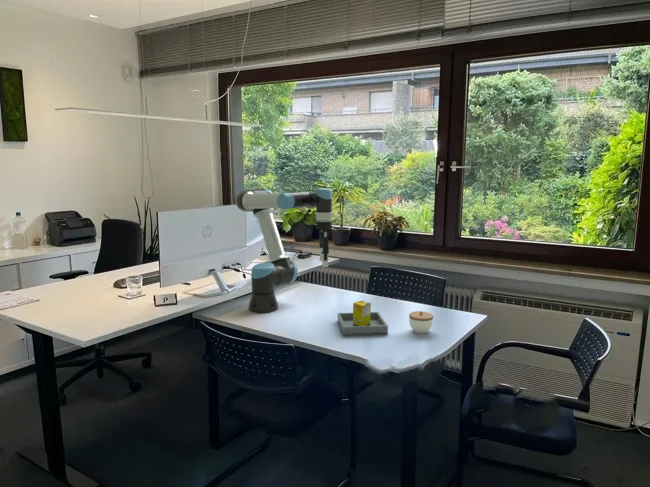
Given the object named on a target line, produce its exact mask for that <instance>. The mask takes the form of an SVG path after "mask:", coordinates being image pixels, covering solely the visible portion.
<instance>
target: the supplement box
mask: <svg viewBox="0 0 650 487" xmlns="http://www.w3.org/2000/svg"><path fill="white" fill-rule="evenodd" d="M371 305H372V304H371V302H368V301H364V300H358V301H355V302H353V303H352V307H353V308H352V313H353V325H354V326H369V325H370V313H371V312H372V311H371V308H372V307H371Z"/></svg>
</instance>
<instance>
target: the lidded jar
mask: <svg viewBox="0 0 650 487" xmlns="http://www.w3.org/2000/svg"><path fill="white" fill-rule="evenodd" d="M408 314H409V315H408V317H409V318H408V319H409V320H408V321H409V326H410V328H411V329H412V331H413V332H414V333H416V334H426V333H428V331H430V330H431V328H432V325H433V322H434V321H433V319H434V315H433V314H432V313H431V312H427V311H423V310H420V311H417V310H416V311H412V312H410V313H408Z"/></svg>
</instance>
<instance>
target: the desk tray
mask: <svg viewBox="0 0 650 487" xmlns="http://www.w3.org/2000/svg"><path fill="white" fill-rule="evenodd" d="M337 323H338V326H339V328H340V331H341V334H342V336H343V337H352V336H353V337H354V336H383V335H386V336H387V335H388V334H389V333H388V331H389V325H388V323H387V322H386V321H385V319H384V318H383V316H382V315H381V314H380V312H379V311H373V312H372V311H371V313H370V325H369V326H354V325H353V312H338V313H337Z"/></svg>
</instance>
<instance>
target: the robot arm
mask: <svg viewBox="0 0 650 487" xmlns="http://www.w3.org/2000/svg"><path fill="white" fill-rule="evenodd" d="M235 204H236V207H237V208H238V209H239V210H240V211H241V212H247V213H248V212H249V213H250V212H252V213H253V217H254V218H257V220H258V223H259V227H260V230H261V234H262V237H263V240H264V243H265V247H266V250H267V253H268V256H269V262H260V263H257V264H254V265H253V267H251V275H250V276H251V297H250V300H249V303H248V310H249V311H250V312H253V313H257V314H259V313H260V314H261V313H262V314H266V313H273V312H275V311H277V310H278V309H279V303H278V300H277V297H276V295H275V294H276V293H275V287H279V286H283V285H288V284H291V283H294V282H295V281H296V280H297V277H298V274H299V270H298V266H297V264H296V263H295V262H294V261H293V260H291V258H290V256H289V255H287V254H286V252H285V248H284V245H283V242H282V239H281V235H280V232H279V229H278V225H277V223H276V220H275V216H274V212H275V210H276V209H281V210H290V209H291V210H292V209H300V208H315V210H316V211H315V219H316V221H315V228H316V229H317V230H319V242H318V243H319V245H318V246H319V261H320V262H322V268H328V267H329V253H330V248H329V232H328V230H331V229H332V228H333V227H332V226H333V224H332V223H333V222H332V219H333V218H332V217H333V216H334V213H332V212H333V191H332V189H331V188H326V187H319V188H316V191H309V190H302V191H299V192H276V193H275V192H273V191H271V190H270V189H267V188H260V189H259V188H257V189H244V190H241V191H240V192H238V193H237V195H236V197H235Z"/></svg>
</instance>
